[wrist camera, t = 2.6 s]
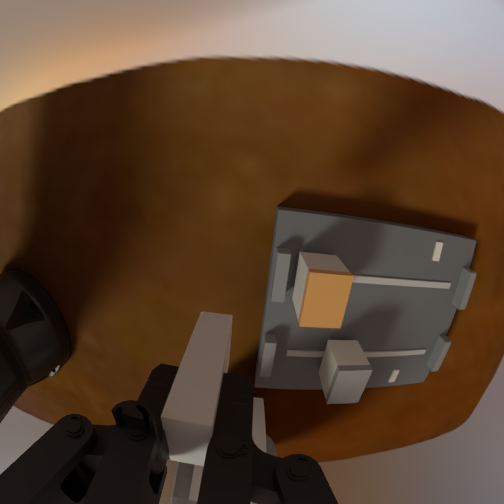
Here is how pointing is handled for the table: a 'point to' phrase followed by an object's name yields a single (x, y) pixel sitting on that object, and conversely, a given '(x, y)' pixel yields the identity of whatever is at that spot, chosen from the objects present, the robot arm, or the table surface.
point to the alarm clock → (191, 474)
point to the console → (365, 297)
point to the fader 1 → (321, 290)
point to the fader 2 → (344, 371)
